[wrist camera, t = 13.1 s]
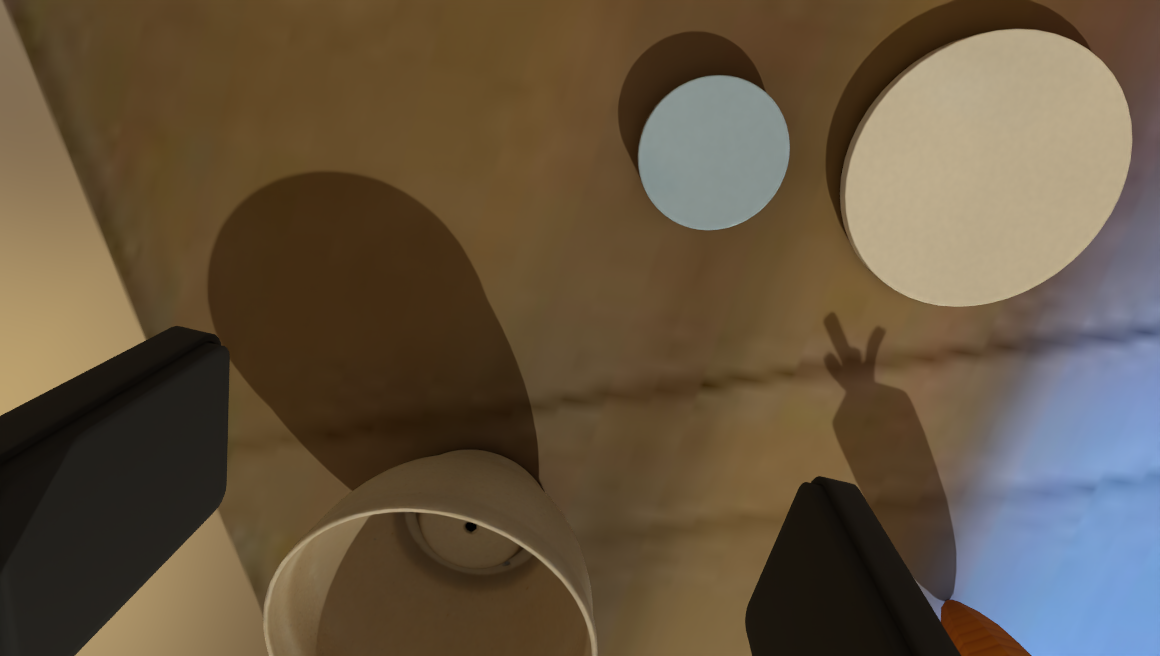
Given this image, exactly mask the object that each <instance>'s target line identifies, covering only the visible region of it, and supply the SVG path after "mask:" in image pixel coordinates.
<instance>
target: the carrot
mask: <svg viewBox="0 0 1160 656" xmlns="http://www.w3.org/2000/svg"><path fill="white" fill-rule="evenodd" d="M941 623H942V625H943V627H944V628H945V630H946V632H947V633H948V635H949V636H950V638H951V640H952V641H953V643H954V645H955V646H956V648H957V649H958V651H959V653H960V654H961V656H1031V655H1030V654H1029V653H1028V652H1027V651H1026V650H1025V649H1024V648H1023V647H1022V646H1021V645H1020V644H1019V643H1018V642H1017V641H1016V640H1015V639H1014V638H1012V637H1011V636H1010V635H1009V634H1008V633H1007V632H1006V631H1005V630H1004V629H1002V628H1001V627H1000V626H999V625H998V624H996V623H995V622H993V621H992V620H990V619H989V618H987V617H986V616H984V615H983V614H981V613H980V612H978V611H976V610H974V609H972V608H970V607H968V606H966V605H964V604H962V603H960V602H958V601H954V600H946V601H945V603H944V604H943V606H942V607H941Z"/></svg>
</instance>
